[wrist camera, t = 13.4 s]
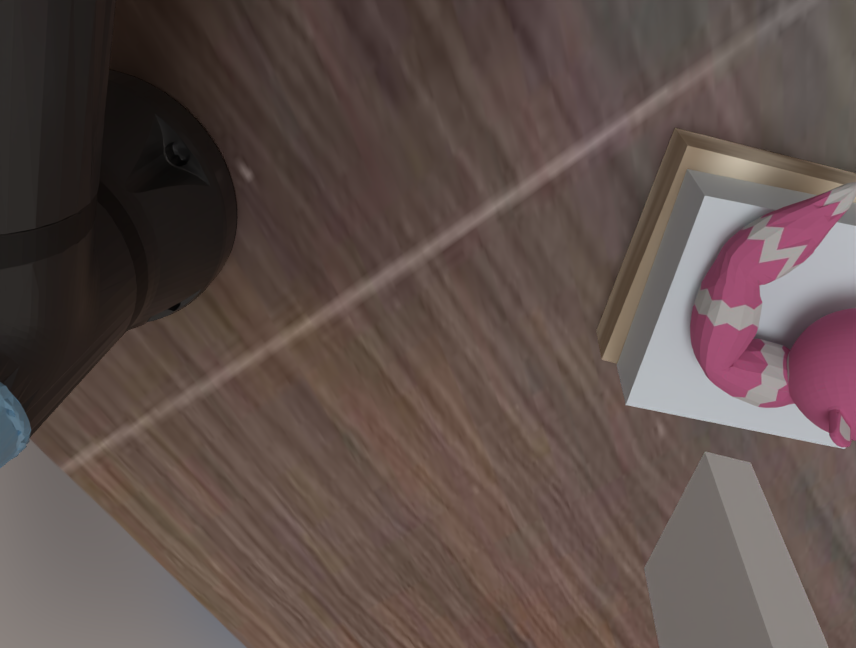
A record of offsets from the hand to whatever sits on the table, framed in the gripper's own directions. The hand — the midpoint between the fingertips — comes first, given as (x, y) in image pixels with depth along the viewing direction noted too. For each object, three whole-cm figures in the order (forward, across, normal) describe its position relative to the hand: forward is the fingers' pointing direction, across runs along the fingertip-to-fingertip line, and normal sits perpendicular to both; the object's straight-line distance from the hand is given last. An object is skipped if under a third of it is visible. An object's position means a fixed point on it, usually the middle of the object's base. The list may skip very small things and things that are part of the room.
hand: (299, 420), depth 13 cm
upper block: (+28, +19, -7) cm, 35 cm away
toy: (+24, +20, -5) cm, 32 cm away
